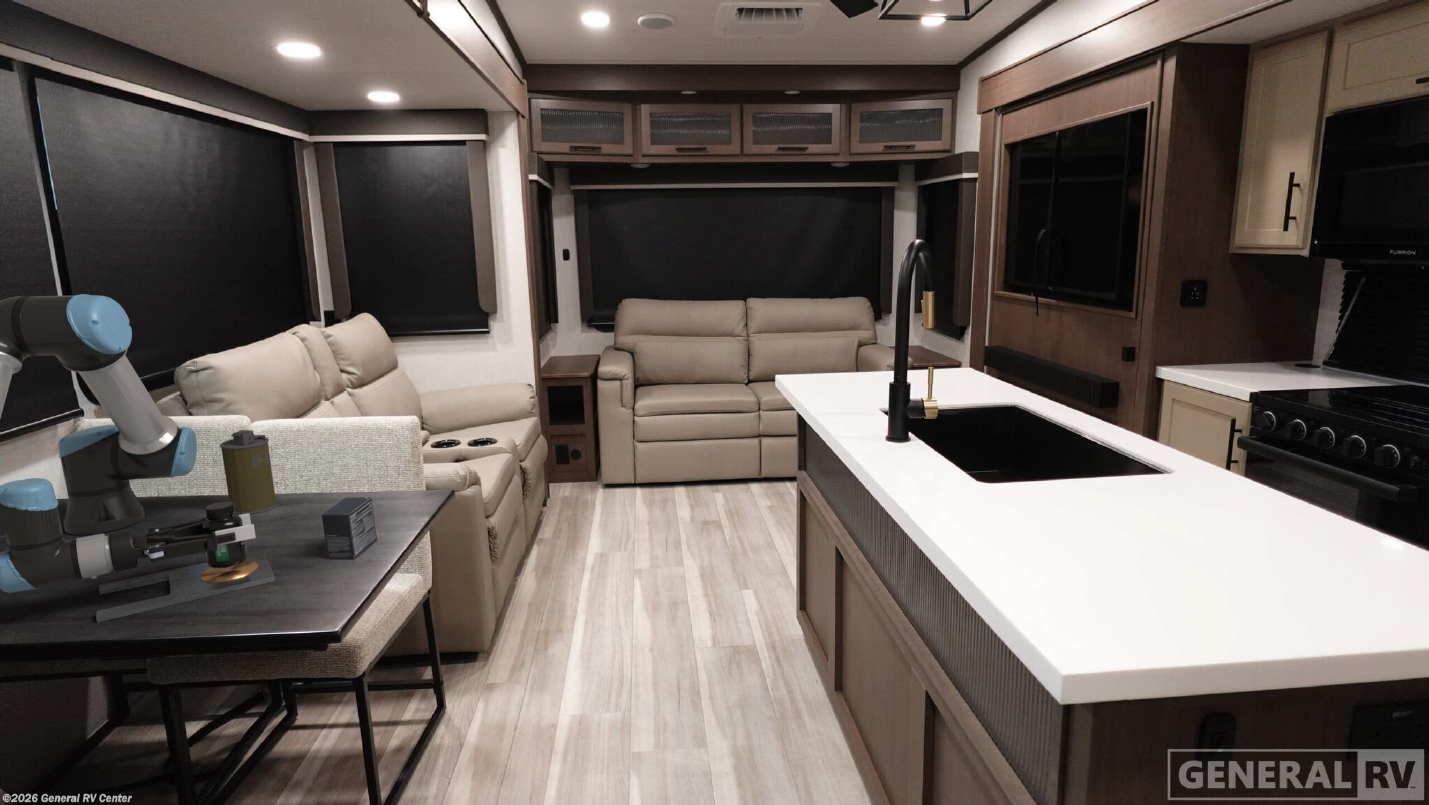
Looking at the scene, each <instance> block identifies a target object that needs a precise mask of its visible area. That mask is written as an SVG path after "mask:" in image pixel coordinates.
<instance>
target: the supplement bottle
mask: <svg viewBox="0 0 1429 805" xmlns="http://www.w3.org/2000/svg"><path fill="white" fill-rule="evenodd" d="M204 509H205V510H204V511H205V518H206V517H207V518H208V519H207V520H205V521H204V523H203V525H202V531H203V535H205V534H215V531H220V530H225V529H230V528H235V527H241V526H243V522H242V518H241V517H240V516H238V515H236V514H234V513H235V508H234V503H233V502H229V501H219V502H215V503H211V504H209V505H207V506H206V507H205V508H204ZM215 536H216V535H215ZM247 554H248V550H247V544H246V540H243V541H238V542H233V543H228V544H223V545H218V546H217V550H216V551H210V552H205V556H206V562H208V565H209V566H210V567H212V568H227V567H231V566H235V565H238V564H240V563H242V562H244V561H245V560H246V558H247Z"/></svg>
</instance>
